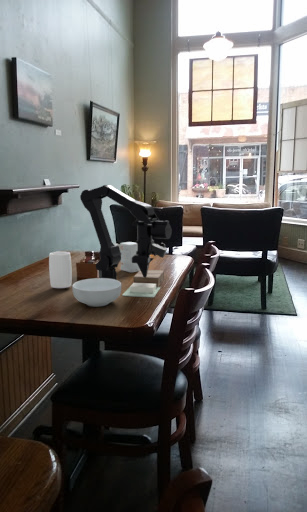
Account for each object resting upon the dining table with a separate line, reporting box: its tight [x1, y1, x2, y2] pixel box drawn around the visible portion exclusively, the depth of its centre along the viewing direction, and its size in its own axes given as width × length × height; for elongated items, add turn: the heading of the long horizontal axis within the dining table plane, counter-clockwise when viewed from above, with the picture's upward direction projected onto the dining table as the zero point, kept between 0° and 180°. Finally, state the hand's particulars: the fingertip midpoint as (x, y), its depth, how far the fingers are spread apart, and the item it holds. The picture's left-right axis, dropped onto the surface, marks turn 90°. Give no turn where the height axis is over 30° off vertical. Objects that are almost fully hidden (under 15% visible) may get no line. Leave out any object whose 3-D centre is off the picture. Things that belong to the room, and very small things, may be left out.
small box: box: [119, 241, 140, 273], centre depth 198 cm, size 8×6×13 cm
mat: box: [121, 286, 162, 298], centre depth 162 cm, size 14×12×1 cm
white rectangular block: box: [129, 282, 156, 293], centre depth 163 cm, size 6×9×2 cm, turn 80°
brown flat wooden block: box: [133, 269, 165, 287], centre depth 175 cm, size 14×10×4 cm
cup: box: [48, 250, 73, 289], centre depth 166 cm, size 8×8×14 cm
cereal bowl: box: [71, 277, 122, 308], centre depth 147 cm, size 17×17×7 cm
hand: (144, 277), depth 166 cm, fingers closed
